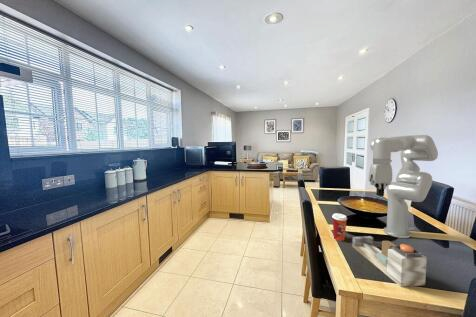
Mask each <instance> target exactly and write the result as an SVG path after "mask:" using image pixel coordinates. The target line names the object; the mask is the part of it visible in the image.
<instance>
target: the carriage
mask: <svg viewBox="0 0 476 317" xmlns="http://www.w3.org/2000/svg"><path fill="white" fill-rule="evenodd" d="M395 245H396V244H394V243H393V242H392V241H390V240H382V241H381V251H382V253H377V255H376V256H377V257H378V260H379V261H380V262H382V263H383V264H384V265H385V266H387V259H388V249H393V246H395Z"/></svg>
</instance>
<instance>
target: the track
mask: <svg viewBox="0 0 476 317" xmlns="http://www.w3.org/2000/svg"><path fill="white" fill-rule="evenodd" d="M351 245H352V246H351V247H352V248H353V249H354V250H356V251H357V252H358V253H359V254H360V255H362V256H363V257H364V258H365V259H367V260H368V261H369V262H370V263H371V264H372V265H374V266H375V267H376V268H378V270H380V271H381V272H383V274H384V275H385V276H387V277H388V278H389V279H391V280H392V281H393V282H394V283H395V284H397V285H398V286H399V287H400V288H403V287H417V286H425V285H426V277H427V259H428V257H427V256H426V255H423V253H422V252H420V251H418V250H417V249H415V248H414V253H405V252H404V251H402V250H400V245H401V244H399V245H398V244H397V245H396V244H395V246H393V249H388V259H387V266H385V265H384V264H383V263H382V262H380V261H379V260H378V257H377V256H376V255H377V253H382V249H381V250H380V249H379V248H378V247H376V246H375V245H374V237H373V236H371V235H368V236H367V235H364V236H352V244H351Z"/></svg>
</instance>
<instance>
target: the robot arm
mask: <svg viewBox="0 0 476 317" xmlns="http://www.w3.org/2000/svg"><path fill="white" fill-rule="evenodd" d="M369 148H370V150H372V164H371V165H370V168H369V171H368V182H370V183H369V184H370V186H374V187H375V189H376V193H375V194H376V195H377V196H378V197H385V191H386V195H387V215H386V216H387V217H386V226H385V227H384V228H383V233H385V234H388V235H389V236H391V237H395V238H400V239H409V238H411V236H412V235H411V233H410V232H414V231H416V230H415V227H413V226H412V227H411V226H410V227H409V226H408V224H409V222H408V220H409V205H408V203H407V201H411V202H417V203H421V202H424V201H425V199H427V195H428V194H429V191H430V189H431V187H432V184H433V176H432V175H431V174H430V173H429V172H425V171H420V170H421V168H420V167H419V165H418V164H417V162H415V161H418V162H419V161H421V162H434V161H436V160H437V159H438V158H439V152H438V148H437V146H436V144H435V141H434V140H433V138H432V137H431V136H430V135H429V134H428V135H427V134H423V135H419V134H417V135H416V134H415V135H402V136H393V137H392V136H390V137H383V138H374V139H373V140H371V142H370V146H369ZM397 152H400V161H401V168H400V169H399V171H398V173H397V175H396V177H395V181H393V168H392V167H393V166H392V165H391V163H392V158H391V156H392V153H397Z"/></svg>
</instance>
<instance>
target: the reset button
mask: <svg viewBox="0 0 476 317" xmlns="http://www.w3.org/2000/svg"><path fill="white" fill-rule="evenodd" d="M399 245H400V250H402V251H404V252H405V253H414V249H415V248H414V247H413V246H412V245H409V244H405V243H401V244H399Z"/></svg>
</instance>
